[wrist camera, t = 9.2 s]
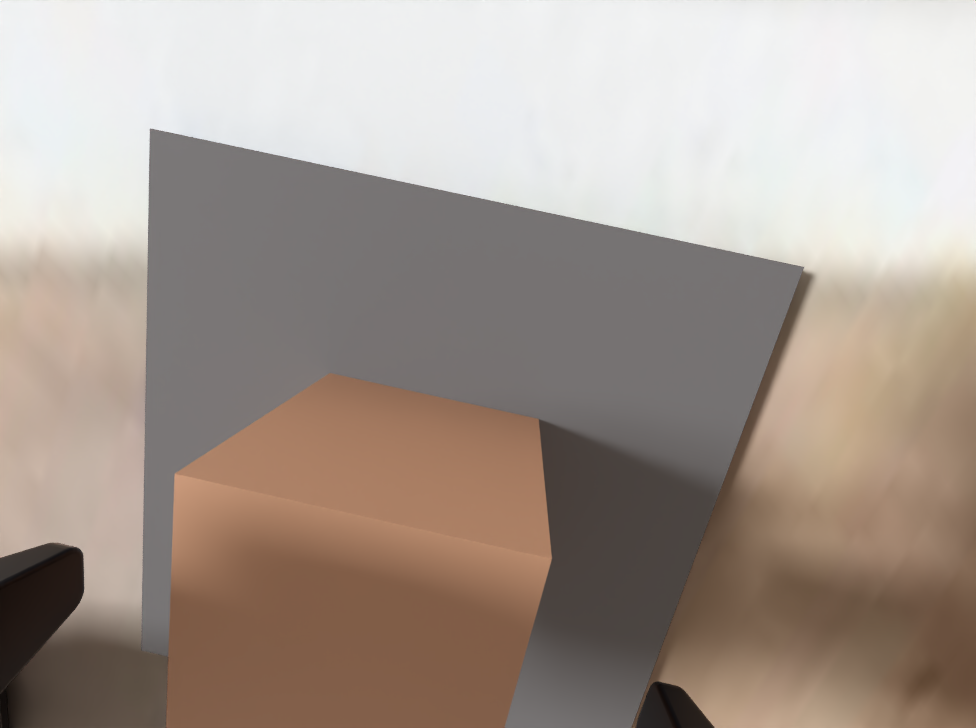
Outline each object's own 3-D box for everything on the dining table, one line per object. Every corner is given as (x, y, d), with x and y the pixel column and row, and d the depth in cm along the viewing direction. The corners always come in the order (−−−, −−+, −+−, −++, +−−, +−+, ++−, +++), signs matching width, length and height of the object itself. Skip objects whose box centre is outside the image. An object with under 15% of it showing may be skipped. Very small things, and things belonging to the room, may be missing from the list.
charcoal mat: (157, 633, 14) (141, 650, 13) (171, 135, 10) (150, 128, 10) (614, 740, 14) (618, 762, 13) (788, 266, 10) (803, 267, 10)
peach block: (307, 553, 12) (164, 755, 7) (330, 372, 11) (174, 474, 6) (494, 595, 12) (475, 829, 7) (538, 419, 11) (552, 558, 6)
